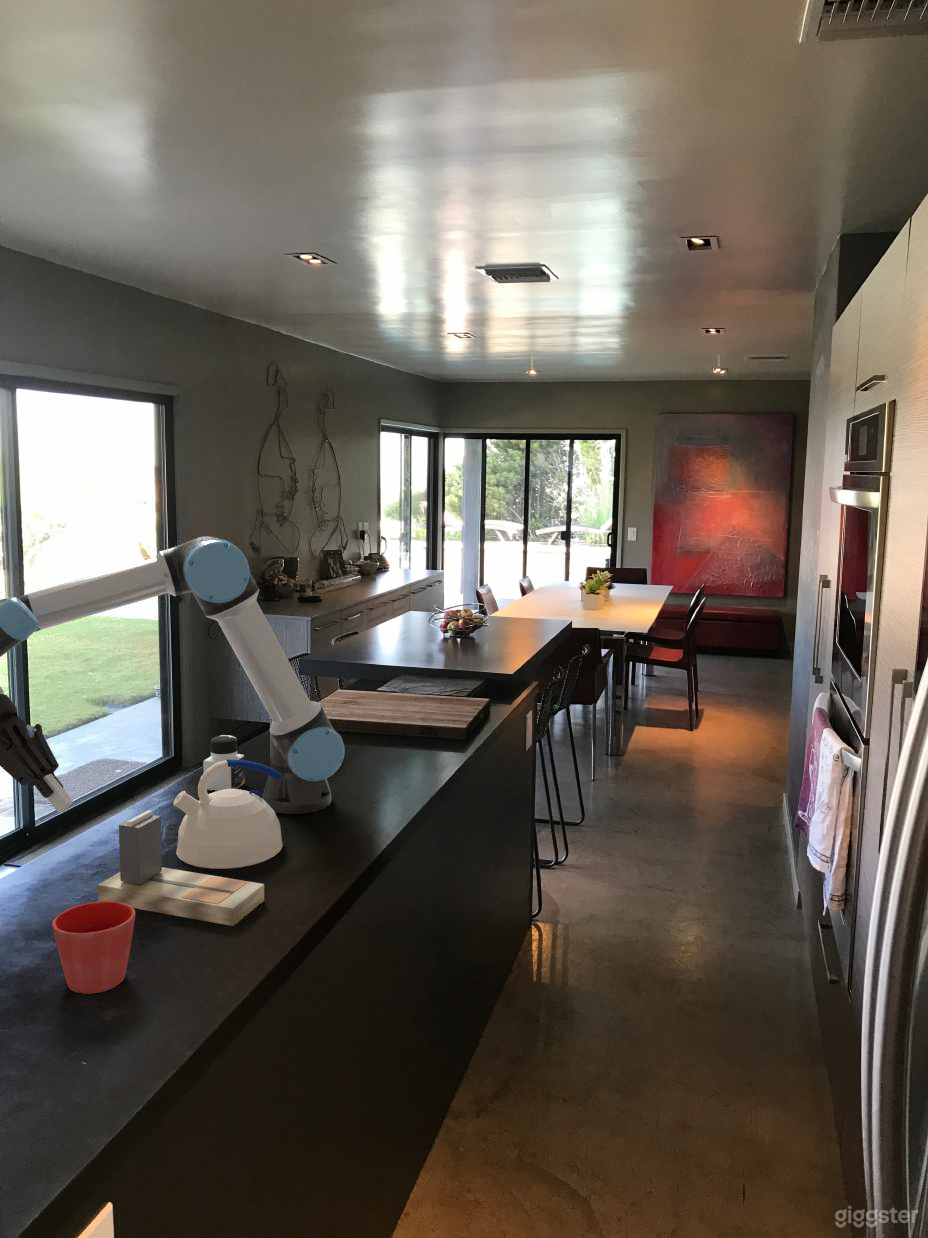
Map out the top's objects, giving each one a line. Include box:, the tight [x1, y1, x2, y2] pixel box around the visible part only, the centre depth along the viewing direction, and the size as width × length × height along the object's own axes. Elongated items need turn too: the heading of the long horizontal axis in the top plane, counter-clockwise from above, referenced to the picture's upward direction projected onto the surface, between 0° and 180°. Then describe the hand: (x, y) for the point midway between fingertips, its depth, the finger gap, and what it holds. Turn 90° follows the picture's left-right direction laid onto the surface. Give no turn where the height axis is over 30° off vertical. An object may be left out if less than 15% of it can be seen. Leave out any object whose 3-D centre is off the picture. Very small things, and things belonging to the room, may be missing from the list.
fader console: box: [97, 866, 265, 927], centre depth 160 cm, size 26×10×3 cm, turn 73°
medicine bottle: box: [202, 734, 246, 792], centre depth 220 cm, size 7×7×12 cm
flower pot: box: [51, 901, 136, 994], centre depth 134 cm, size 11×11×10 cm
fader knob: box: [118, 809, 163, 885], centre depth 162 cm, size 4×6×11 cm, turn 163°
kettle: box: [173, 759, 283, 870], centre depth 183 cm, size 20×21×18 cm
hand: (66, 807), depth 165 cm, fingers closed
